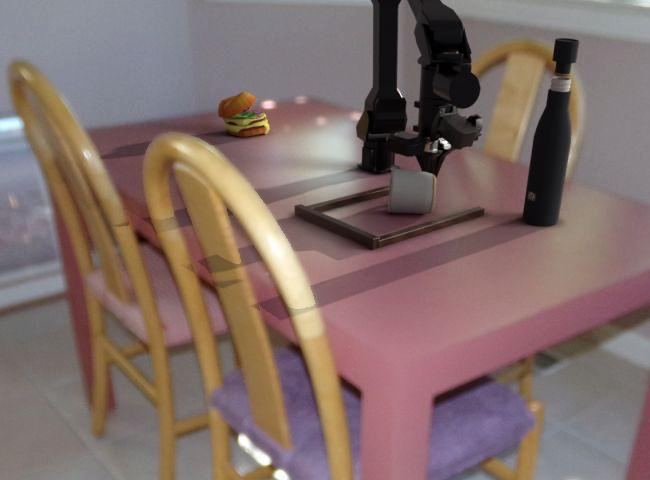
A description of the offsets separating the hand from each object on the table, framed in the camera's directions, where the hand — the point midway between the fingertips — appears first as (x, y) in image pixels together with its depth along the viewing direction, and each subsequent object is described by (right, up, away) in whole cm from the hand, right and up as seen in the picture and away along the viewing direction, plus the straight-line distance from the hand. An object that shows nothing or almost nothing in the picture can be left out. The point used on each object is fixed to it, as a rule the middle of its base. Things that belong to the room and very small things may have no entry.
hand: (430, 185), depth 146 cm
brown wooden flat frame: (-7, -6, -4) cm, 10 cm away
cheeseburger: (-41, +22, +40) cm, 61 cm away
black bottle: (+19, -7, -2) cm, 21 cm away
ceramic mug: (-4, -5, -1) cm, 6 cm away
